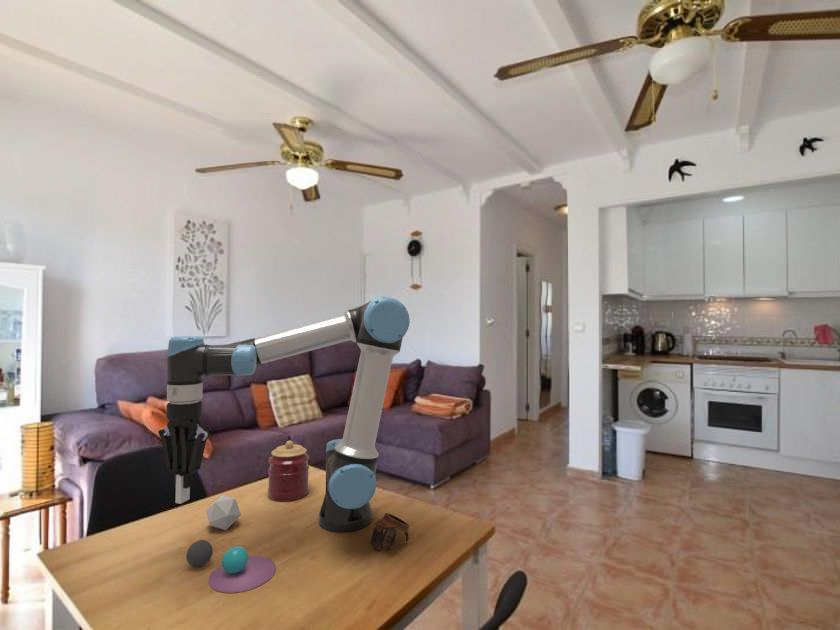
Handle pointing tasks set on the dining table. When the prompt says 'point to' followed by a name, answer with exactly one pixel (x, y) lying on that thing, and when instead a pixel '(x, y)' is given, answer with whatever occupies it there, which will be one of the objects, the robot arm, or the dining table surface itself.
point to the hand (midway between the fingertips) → (182, 501)
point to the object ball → (234, 560)
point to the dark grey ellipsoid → (199, 553)
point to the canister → (288, 472)
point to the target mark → (243, 576)
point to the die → (223, 512)
